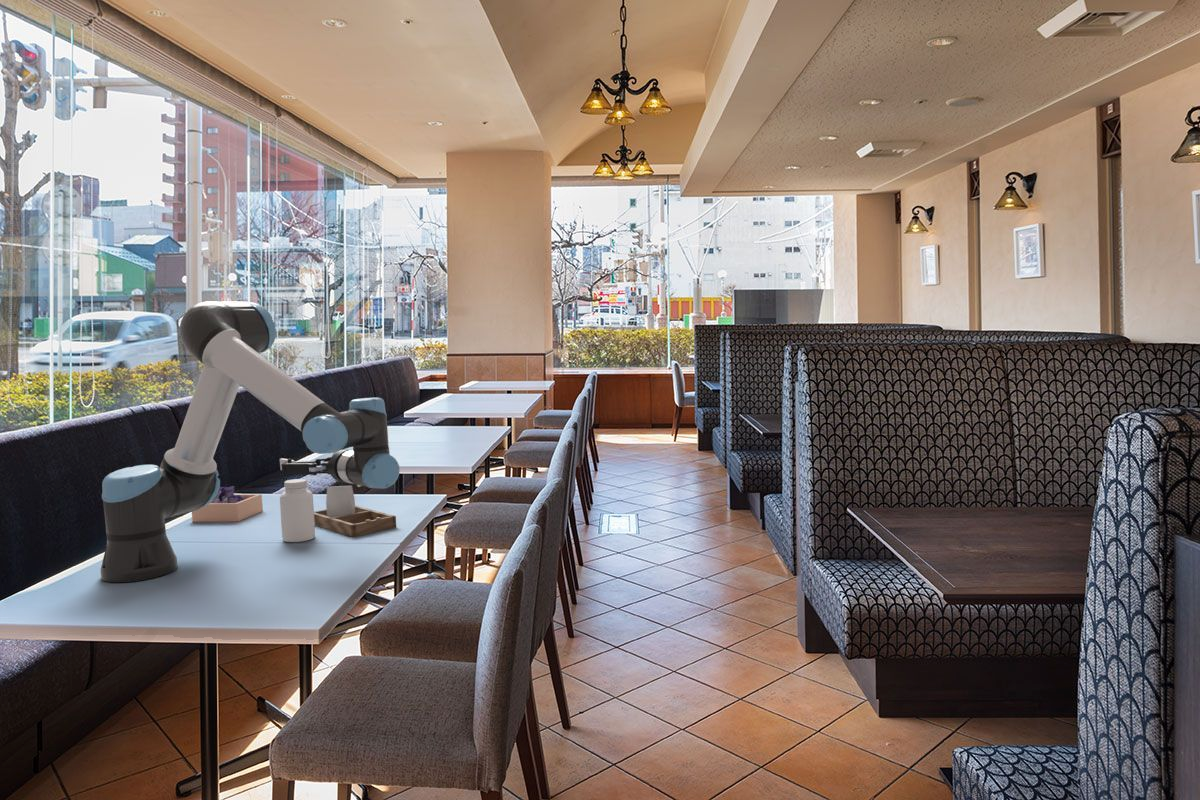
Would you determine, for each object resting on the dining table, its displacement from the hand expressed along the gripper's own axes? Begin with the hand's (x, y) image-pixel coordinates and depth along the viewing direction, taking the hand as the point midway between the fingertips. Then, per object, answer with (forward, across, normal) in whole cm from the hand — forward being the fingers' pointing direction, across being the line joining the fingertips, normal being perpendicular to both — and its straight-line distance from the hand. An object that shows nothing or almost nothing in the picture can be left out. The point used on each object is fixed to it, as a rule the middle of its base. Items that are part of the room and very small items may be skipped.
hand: (308, 459), depth 208 cm
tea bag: (+18, +16, -21) cm, 32 cm away
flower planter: (+53, -1, -20) cm, 57 cm away
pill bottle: (+10, 0, -21) cm, 23 cm away
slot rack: (+12, +16, -21) cm, 29 cm away
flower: (+54, -2, -20) cm, 58 cm away
